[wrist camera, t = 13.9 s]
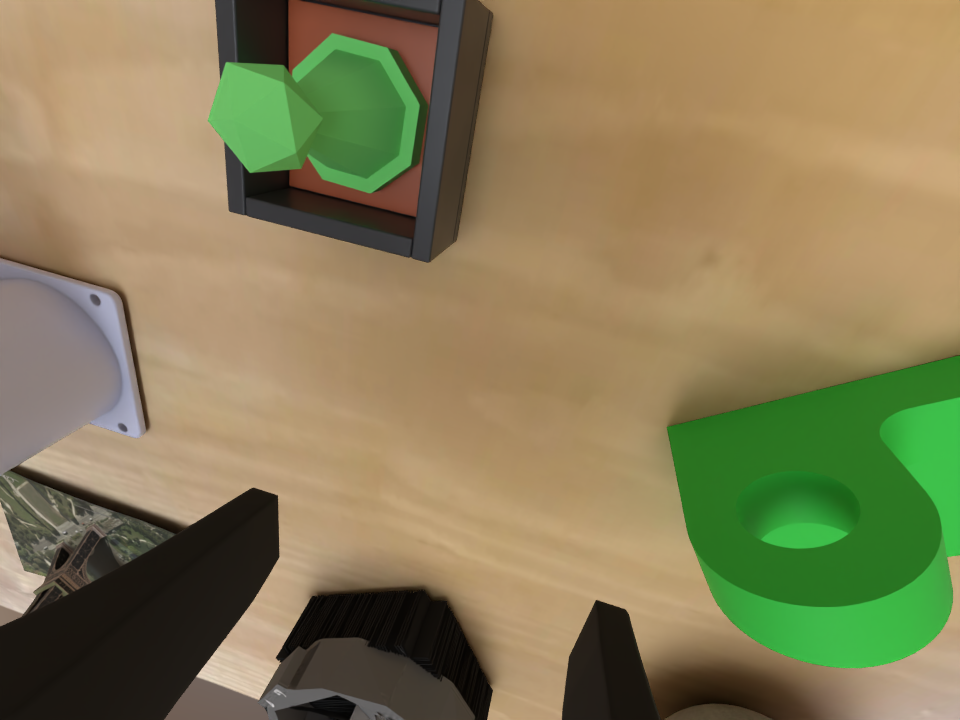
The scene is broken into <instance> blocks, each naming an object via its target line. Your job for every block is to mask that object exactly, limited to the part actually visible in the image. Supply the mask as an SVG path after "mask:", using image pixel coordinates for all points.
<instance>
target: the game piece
mask: <svg viewBox="0 0 960 720" xmlns="http://www.w3.org/2000/svg"><path fill="white" fill-rule="evenodd" d="M427 111H428V104H427V102H426V101H425V99H424V97H423V95H422V93H421V92H420V90H419V88H418V86H417V85H416V83H415V81H414V79H413V77H412V76H411V74H410V72H409V70H408V69H407V67H406V65H405V63H404V61H403V60H402V58H401V56H400V54H399V53H398V51H396V50H393V49H390V48H387V47H383V46H379V45H375V44H372V43H368V42H364V41H360V40H357V39H353V38H349V37H345V36H341V35H338V34H334V33H332V34H331V35H330V36H329V37H328V38H326V39H325V40H324V41H323V42H322V43H321V44H320V45H319V46H318V47H317V48H316V49H315V50H314V51H312V52H311V53H310V54H309V55H308V56H307V57H306V58H305V59H304V60H303V61H302V62H301V63H300V64H298V65H297V66H296V67H295V68H294V69H293V71H292V76H291V74H290V73H289V72H288V70H287V69H286V68H285V66H284V65H271V64H253V63H234V62H226V64H225V67H224V70H223V73H222V76H221V80H220V83H219V86H218V89H217V93H216V96H215V99H214V102H213V105H212V109H211V112H210V115H209V118H208V122H209V123H210V124H211V125H212V127H213V128H214V129H215V130H216V132H217V133H218V134H219V135H220V136H221V138H222V139H223V140H224V141H225V143H226V144H227V145H228V146H229V148H230V149H231V150H232V151H233V153H234V154H235V155H236V156H237V157H238V159H239V160H240V161H241V162H242V164H243V165H244V166H245V167H246V169H247V170H248V171H249V172H250V173H254V172H267V171H280V170H293V169H301V168H302V166H303V164H304V162H305V159H306V157H308V158H309V160H310V161H311V163H312V164H313V166H314V167H315V169H316V170H317V172H318V173H319V175H320V176H321V178H322V179H323V180H326V181H329V182H333V183H336V184H340V185H343V186H346V187H350V188H353V189H357V190H360V191H363V192H367V193H370V194H371V193H374V192H377V191H380V190H382V189H383V188H384V187H386V186H387V185H389V184H390V183H391V182H393V181H394V180H396V179H397V178H399V177H400V176H401V175H403V174H404V173H406V172H407V171H409V170H410V169H411V168H413V167H414V166H416V165H417V164H419V161H420V155H421V149H422V142H423V136H424V130H425V123H426V117H427Z"/></svg>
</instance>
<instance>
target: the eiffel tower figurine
mask: <svg viewBox="0 0 960 720" xmlns="http://www.w3.org/2000/svg"><path fill="white" fill-rule="evenodd" d="M0 502H1V505H2V508H3V510H4V513H5V516H6V519H7V522H8V525H9V528H10V530H11V533H12V536H13V539H14V542H15V545H16V548H17V551H18V554H19V557H20V560H21V563H22V565H23V568H24V571H28V572H31V573H35V574H38V575H42V576H45V577H46V578H45V581H44V583H43V584H42V585H41V586H40V587H39V588H38V589H36V590H35V591H34V592H33V593H35V594H36V595H37V596H36V598H35V599H34V601H33V602H32V604H31V605H30V606H29V608H28V609H27V610H26V612H25V613H24V614H23V616H24V615H27V614H29V613H31V612H33V611H35V610H37V609H39V608H41V607H43V606H45V605H48V604H50V603H52V602H54V601H56V600H58V599H60V598H62V597H64V596H66V595H68V594H70V593H72V592H74V591H75V590H77V589H79V588H81V587H83V586H85V585H87V584H89V583H91V582H93V581H95V580H96V579H98V578H100V577H102V576H104V575H106V574H107V573H109V572H111V571H113V570H115V569H117V568H118V567H120V566H122V565H124V564H126V563H128V562H129V561H131V560H133V559H135V558H137V557H138V556H140V555H142V554H144V553H145V552H147V551H149V550H150V549H152V548H154V547H156V546H157V545H159V544H161V543H162V542H164V541H166V540H167V539H169V538H171V537H172V536H174V535H176V534H174V533H172V532H169V531H167V530H164V529H162V528H159V527H157V526H154V525H152V524H149V523H146V522H144V521H141V520H139V519H136V518H133V517H130V516H127V515H124V514H121V513H118V512H115V511H112V510H109V509H106V508H103V507H100V506H97V505H95V504H92V503H89V502H86V501H84V500H81V499H78V498H76V497H73V496H70V495H68V494H65V493H62V492H60V491H57V490H55V489H52V488H49V487H47V486H44V485H42V484H39V483H37V482H34V481H32V480H29V479H27V478H25V477H23V476H21V475H18V474H16V473H14V472H12V471H10V470H9V471H7V472H5V473H3V474H2V475H0Z"/></svg>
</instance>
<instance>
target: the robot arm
mask: <svg viewBox="0 0 960 720" xmlns="http://www.w3.org/2000/svg"><path fill="white" fill-rule="evenodd" d="M88 423H90V424H93V425H96V426H99V427H102V428H105V429H108V430H111V431H114V432H118V433H121V434H124V435H127V436H130V437H133V438H139V437H141V436H142V435H144V434H145V433H146V427H145V421H144V416H143V411H142V405H141V400H140V394H139V389H138V384H137V378H136V373H135V368H134V362H133V357H132V352H131V346H130V341H129V336H128V330H127V325H126V319H125V314H124V309H123V303H122V300H121V298H120V296H119V295H118V294H117V293H116V292H114V291H112V290H110V289H107V288H103V287H100V286H96V285H93V284H89V283H86V282H82V281H79V280H75V279H72V278H68V277H65V276H61V275H58V274H54V273H51V272H47V271H44V270H40V269H37V268H33V267H30V266H26V265H23V264H19V263H16V262H12V261H9V260H5V259H2V258H0V475H2V474H3V473H5V472H7V471H9V470H10V469H12V468H14V467H15V466H17V465H19V464H20V463H22V462H24V461H25V460H27V459H29V458H31V457H32V456H34V455H36V454H37V453H39V452H41V451H42V450H44V449H46V448H47V447H49V446H51V445H53V444H54V443H56V442H58V441H59V440H61V439H63V438H64V437H66V436H68V435H69V434H71V433H73V432H75V431H76V430H78V429H80V428H81V427H83V426H85V425H86V424H88ZM278 558H279V522H278V495H275V494H272V493H269V492H265V491H262V490H259V489H256V488H251V489H249V490H248V491H246V492H244V493H243V494H241V495H239V496H238V497H236V498H235V499H233V500H231V501H230V502H228V503H227V504H225V505H223V506H222V507H220V508H218V509H217V510H215V511H214V512H212V513H210V514H209V515H207V516H206V517H204V518H202V519H201V520H199V521H197V522H196V523H194V524H192V525H191V526H189V527H188V528H186V529H184V530H183V531H181V532H179V533H178V534H176V535H174V536H172V537H171V538H169V539H167V540H166V541H164V542H162V543H161V544H159V545H157V546H156V547H154V548H152V549H150V550H149V551H147V552H145V553H144V554H142V555H140V556H138V557H137V558H135V559H133V560H131V561H129V562H128V563H126V564H124V565H122V566H120V567H118V568H117V569H115V570H113V571H111V572H109V573H107V574H106V575H104V576H102V577H100V578H98V579H96V580H95V581H93V582H91V583H89V584H87V585H85V586H83V587H81V588H79V589H77V590H75V591H74V592H72V593H70V594H68V595H66V596H64V597H62V598H60V599H58V600H56V601H54V602H52V603H50V604H48V605H45V606H43V607H41V608H39V609H37V610H35V611H33V612H31V613H29V614H27V615H24V616H22V617H21V618H18V619H16V620H14V621H12V622H9V623H7V624H5V625H3V626H0V720H164V719H165V718H166V716H167V715H168V713H169V712H170V711H171V709H172V708H173V706H174V705H175V704H176V702H177V701H178V699H179V698H180V697H181V695H182V694H183V693H184V692H185V690H186V689H187V688H188V686H189V685H190V684H191V682H192V681H193V680H194V678H195V677H196V676H197V675H198V673H199V672H200V671H201V669H202V668H203V667H204V665H205V664H206V663H207V661H208V660H209V659H210V657H211V656H212V655H213V654H214V652H215V651H216V650H217V648H218V647H219V646H220V644H221V643H222V642H223V640H224V639H225V638H226V636H227V635H228V634H229V632H230V631H231V630H232V628H233V627H234V626H235V624H236V623H237V622H238V620H239V619H240V618H241V616H242V615H243V614H244V612H245V611H246V610H247V608H248V607H249V606H250V604H251V603H252V602H253V600H254V599H255V597H256V595H257V594H258V592H259V590H260V589H261V587H262V586H263V584H264V582H265V581H266V579H267V577H268V576H269V574H270V572H271V570H272V569H273V567H274V565H275V564H276V562H277V560H278ZM562 720H661V718H660V716H659V713H658V710H657V707H656V704H655V701H654V698H653V695H652V692H651V689H650V686H649V683H648V679H647V676H646V673H645V670H644V667H643V663H642V660H641V657H640V653H639V650H638V646H637V643H636V639H635V636H634V632H633V629H632V625H631V621H630V617H629V614H628V613H627V611H626V610H625V609H622V608H619V607H616V606H613V605H610V604H607V603H604V602H601V601H598V600H596V601H595V604H594V606H593V608H592V610H591V612H590V614H589V616H588V618H587V620H586V622H585V625H584V627H583V629H582V631H581V633H580V635H579V637H578V639H577V641H576V643H575V646H574V648H573V650H572V652H571V654H570V656H569V662H568V670H567V678H566V685H565V694H564V702H563V711H562Z"/></svg>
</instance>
